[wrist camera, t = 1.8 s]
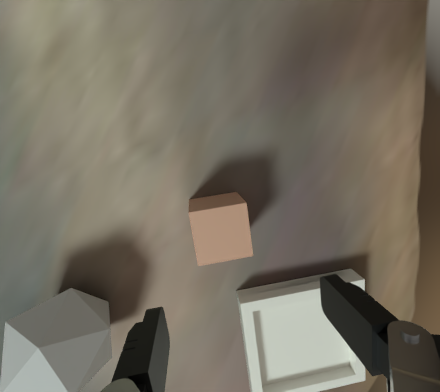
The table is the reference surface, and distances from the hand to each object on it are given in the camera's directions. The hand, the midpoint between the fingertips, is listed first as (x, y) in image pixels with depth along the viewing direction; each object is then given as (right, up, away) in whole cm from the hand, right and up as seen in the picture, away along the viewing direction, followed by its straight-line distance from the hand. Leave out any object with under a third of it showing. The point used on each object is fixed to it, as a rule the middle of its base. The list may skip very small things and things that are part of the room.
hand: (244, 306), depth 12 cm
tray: (+9, -11, +18) cm, 23 cm away
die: (-16, -7, +15) cm, 23 cm away
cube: (-2, +3, +14) cm, 14 cm away
